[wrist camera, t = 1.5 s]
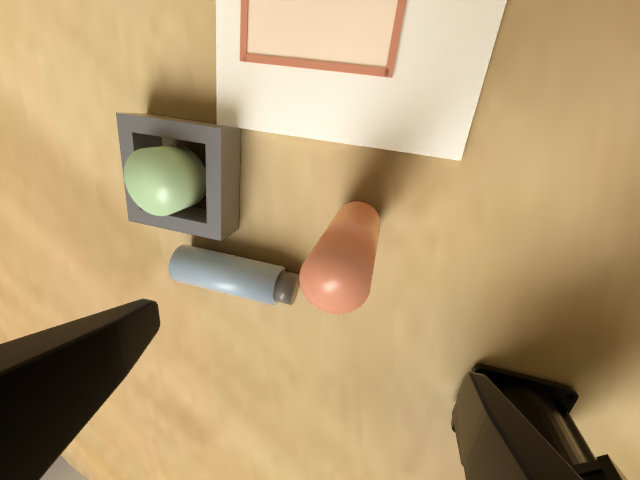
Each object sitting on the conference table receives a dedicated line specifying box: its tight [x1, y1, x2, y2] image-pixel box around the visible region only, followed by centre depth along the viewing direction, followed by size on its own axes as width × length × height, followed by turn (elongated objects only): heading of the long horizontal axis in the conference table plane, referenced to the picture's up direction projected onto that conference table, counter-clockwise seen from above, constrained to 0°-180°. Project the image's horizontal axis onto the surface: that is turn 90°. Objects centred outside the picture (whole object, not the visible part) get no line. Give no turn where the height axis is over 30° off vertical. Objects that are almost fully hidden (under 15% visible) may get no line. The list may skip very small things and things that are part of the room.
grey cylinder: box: [169, 245, 300, 305], centre depth 23 cm, size 9×3×3 cm, turn 83°
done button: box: [124, 145, 206, 216], centre depth 19 cm, size 4×4×2 cm
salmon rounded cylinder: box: [299, 201, 380, 314], centre depth 16 cm, size 3×3×9 cm
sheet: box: [216, 0, 507, 161], centre depth 16 cm, size 15×13×1 cm
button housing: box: [116, 113, 241, 241], centre depth 21 cm, size 7×7×2 cm
